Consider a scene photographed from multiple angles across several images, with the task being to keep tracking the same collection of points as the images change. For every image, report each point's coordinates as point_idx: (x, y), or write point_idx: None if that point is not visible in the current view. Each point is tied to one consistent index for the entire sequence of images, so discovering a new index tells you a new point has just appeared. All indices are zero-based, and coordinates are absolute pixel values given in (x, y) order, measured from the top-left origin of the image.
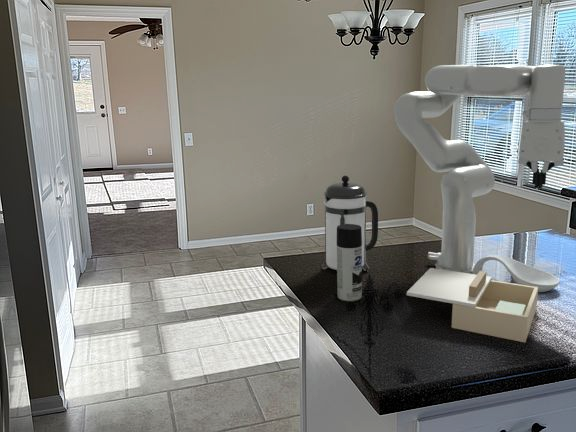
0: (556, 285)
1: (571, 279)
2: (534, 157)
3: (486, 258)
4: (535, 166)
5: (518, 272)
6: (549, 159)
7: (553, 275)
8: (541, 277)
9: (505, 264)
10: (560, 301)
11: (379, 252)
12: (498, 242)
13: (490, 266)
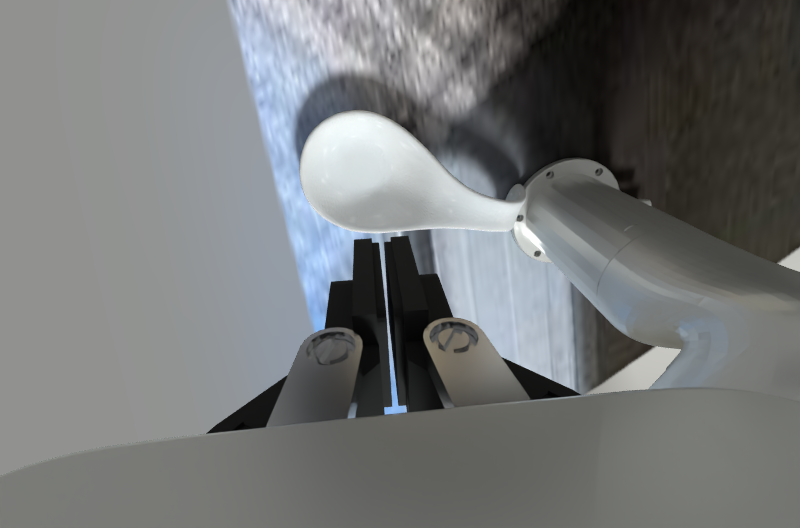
0: (302, 153)
1: (299, 272)
2: (550, 449)
3: (505, 200)
4: (456, 373)
5: (410, 196)
6: (184, 458)
7: (323, 214)
8: (353, 211)
9: (447, 172)
10: (281, 97)
11: (758, 237)
12: None
13: (484, 269)
